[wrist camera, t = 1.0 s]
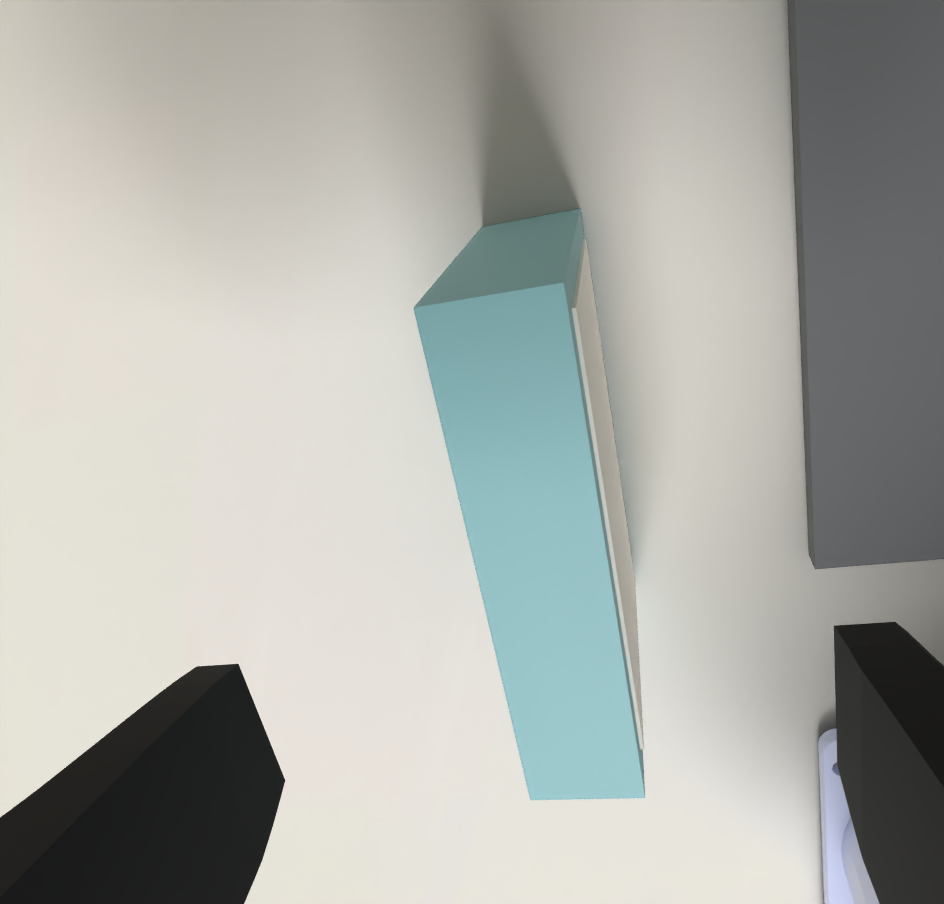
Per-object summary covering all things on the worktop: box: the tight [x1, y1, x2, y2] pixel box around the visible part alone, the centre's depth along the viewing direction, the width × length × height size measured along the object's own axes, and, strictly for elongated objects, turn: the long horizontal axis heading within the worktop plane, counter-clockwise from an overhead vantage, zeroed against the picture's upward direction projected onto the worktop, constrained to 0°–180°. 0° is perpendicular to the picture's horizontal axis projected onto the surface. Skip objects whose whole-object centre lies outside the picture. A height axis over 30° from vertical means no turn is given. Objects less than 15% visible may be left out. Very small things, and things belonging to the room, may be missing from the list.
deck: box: [414, 209, 645, 800], centre depth 15 cm, size 9×2×6 cm, turn 12°
